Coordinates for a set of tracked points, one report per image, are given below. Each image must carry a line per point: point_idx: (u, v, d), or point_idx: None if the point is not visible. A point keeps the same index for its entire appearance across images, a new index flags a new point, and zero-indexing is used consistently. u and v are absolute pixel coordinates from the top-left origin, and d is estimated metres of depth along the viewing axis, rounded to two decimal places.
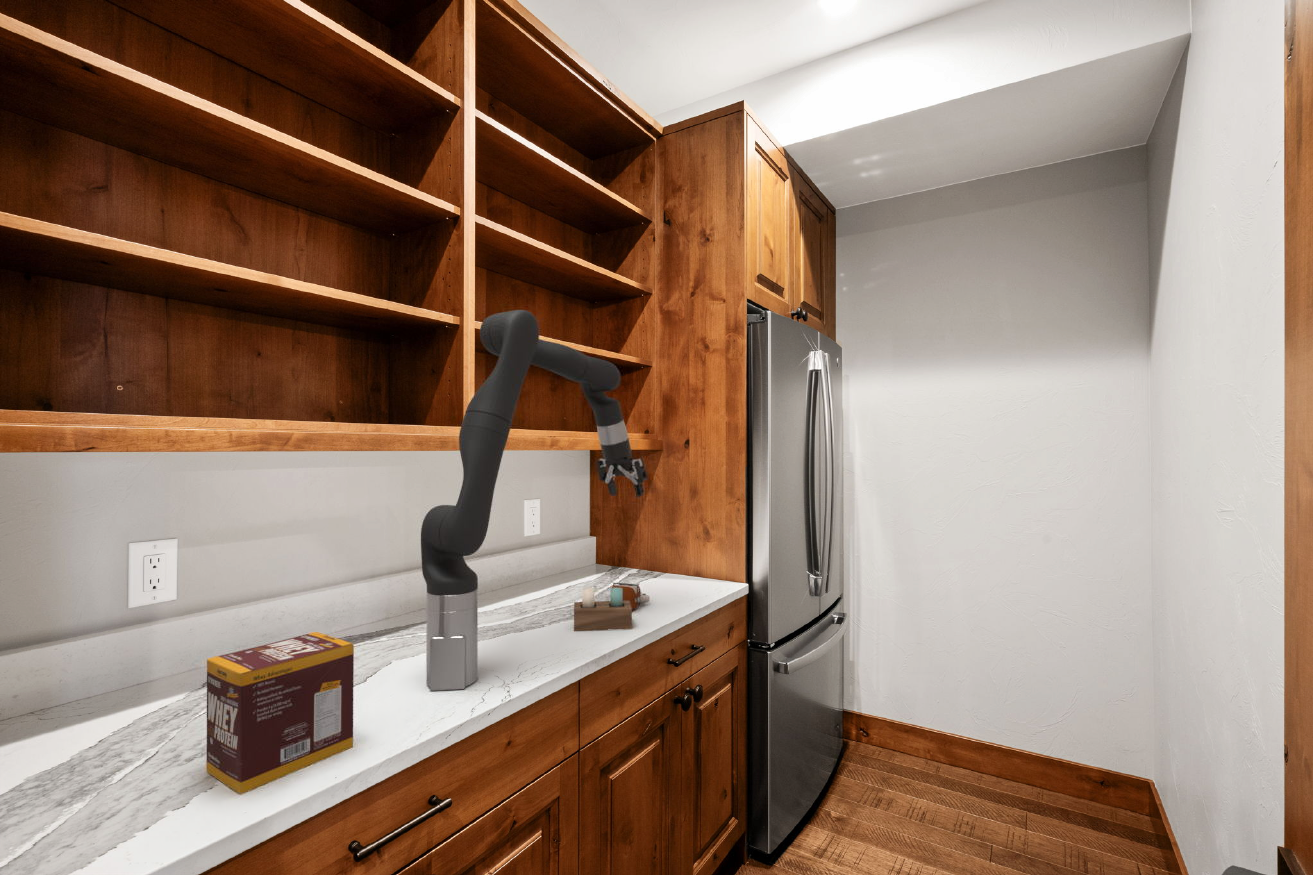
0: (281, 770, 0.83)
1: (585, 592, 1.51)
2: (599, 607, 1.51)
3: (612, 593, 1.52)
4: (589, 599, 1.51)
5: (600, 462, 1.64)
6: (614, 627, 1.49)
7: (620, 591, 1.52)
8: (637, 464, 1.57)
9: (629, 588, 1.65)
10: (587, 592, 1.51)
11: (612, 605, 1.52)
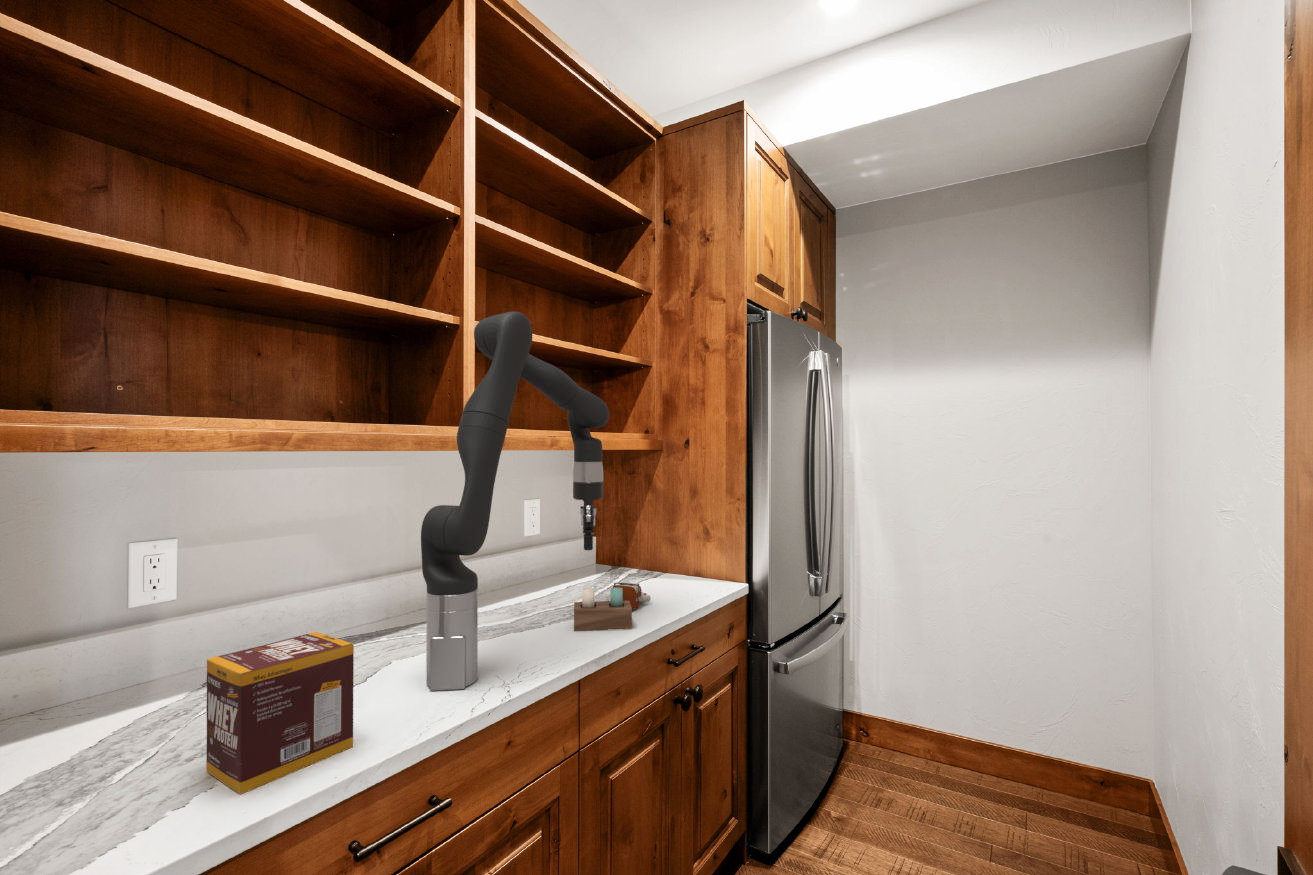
0: (281, 770, 0.83)
1: (585, 592, 1.51)
2: (599, 607, 1.51)
3: (612, 593, 1.52)
4: (589, 599, 1.51)
5: None
6: (614, 627, 1.49)
7: (620, 591, 1.52)
8: (583, 518, 1.47)
9: (630, 588, 1.65)
10: (587, 592, 1.51)
11: (612, 605, 1.52)
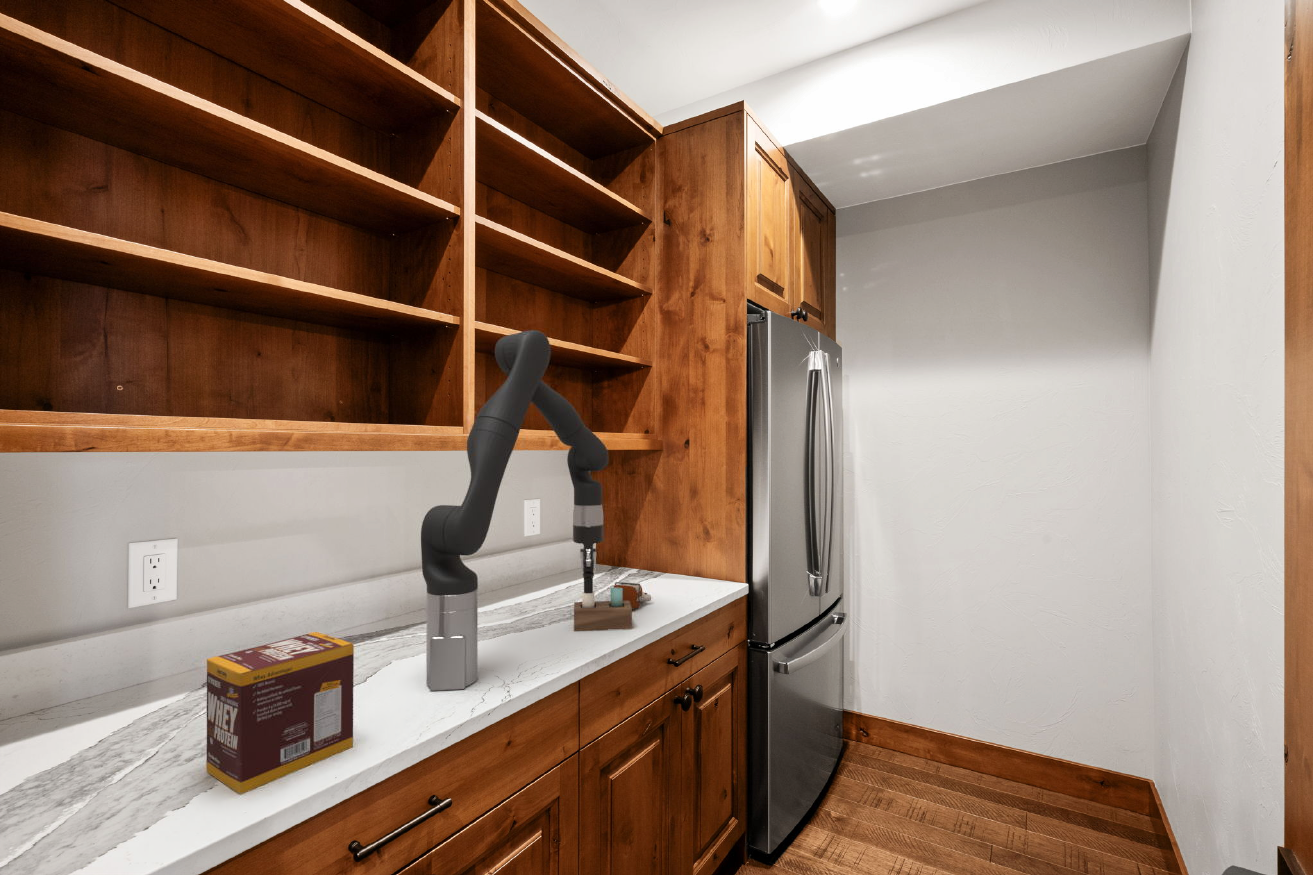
0: (281, 770, 0.83)
1: (585, 595, 1.51)
2: (599, 607, 1.51)
3: (612, 593, 1.52)
4: (589, 602, 1.51)
5: None
6: (614, 627, 1.49)
7: (620, 591, 1.52)
8: (583, 563, 1.47)
9: (631, 587, 1.66)
10: (587, 595, 1.51)
11: (612, 605, 1.52)
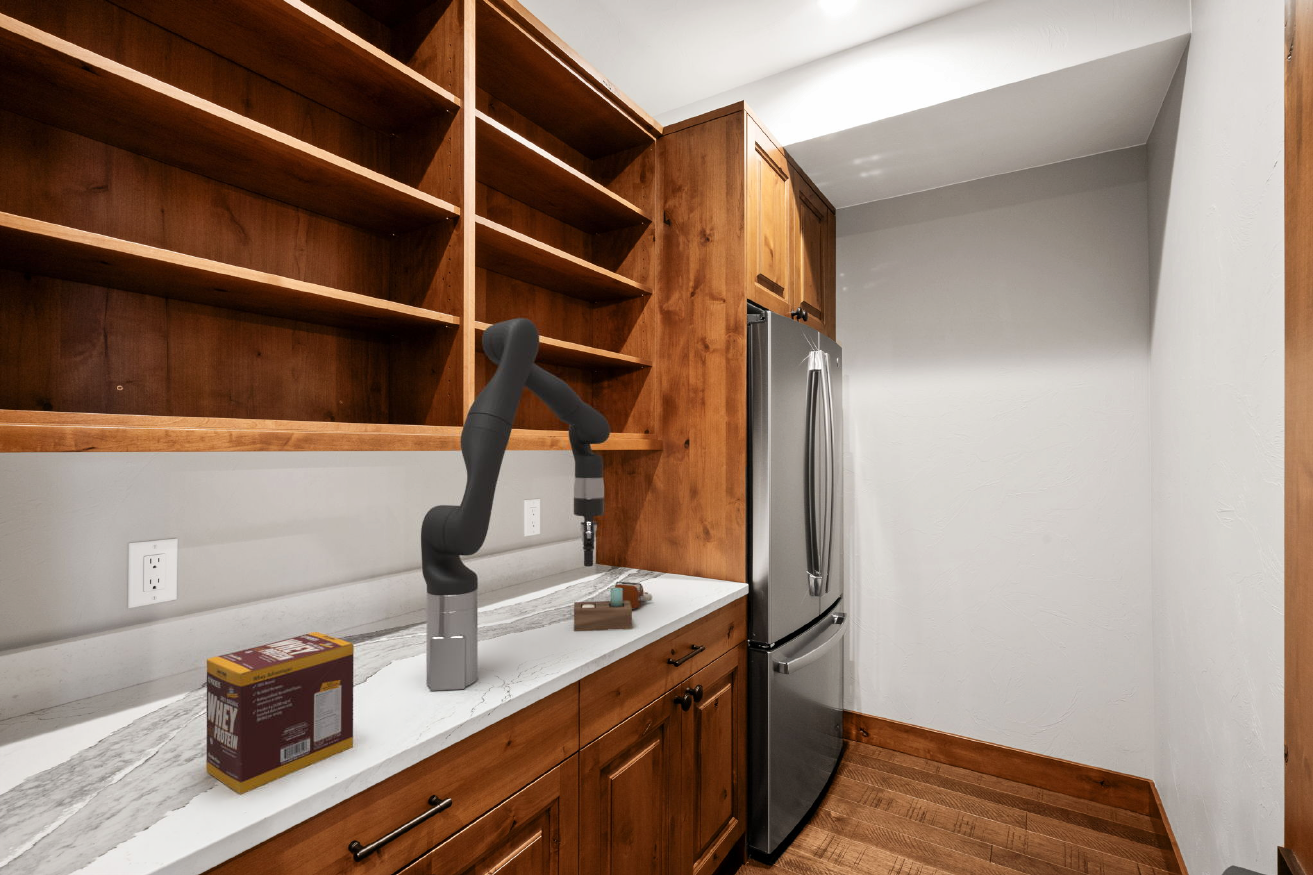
0: (281, 770, 0.83)
1: None
2: (599, 607, 1.51)
3: (612, 593, 1.52)
4: None
5: None
6: (614, 627, 1.49)
7: (620, 591, 1.52)
8: (583, 535, 1.47)
9: (632, 587, 1.66)
10: None
11: (612, 605, 1.52)
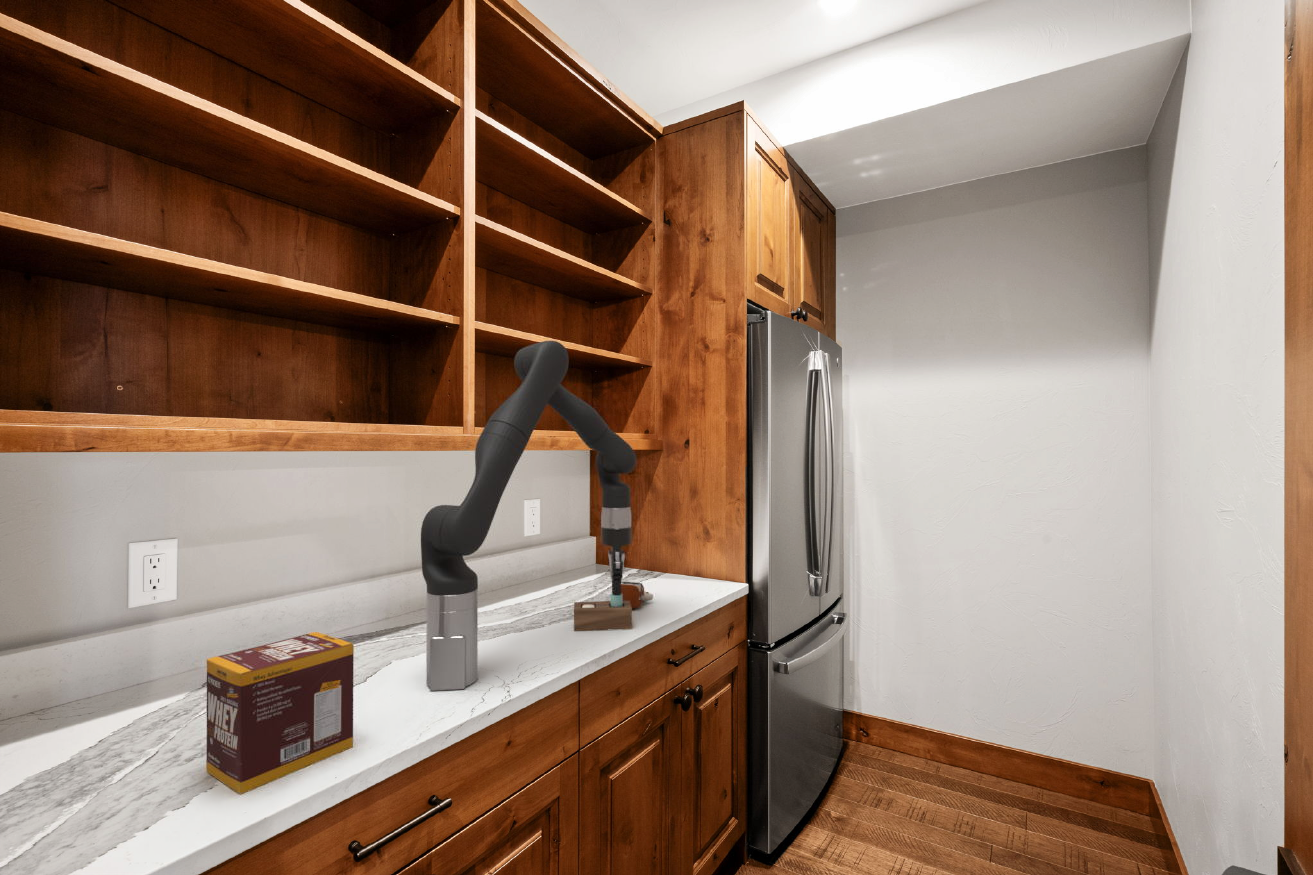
0: (281, 770, 0.83)
1: None
2: (599, 607, 1.51)
3: (612, 599, 1.52)
4: None
5: None
6: (614, 627, 1.49)
7: (620, 597, 1.52)
8: (612, 565, 1.48)
9: (633, 586, 1.67)
10: None
11: None
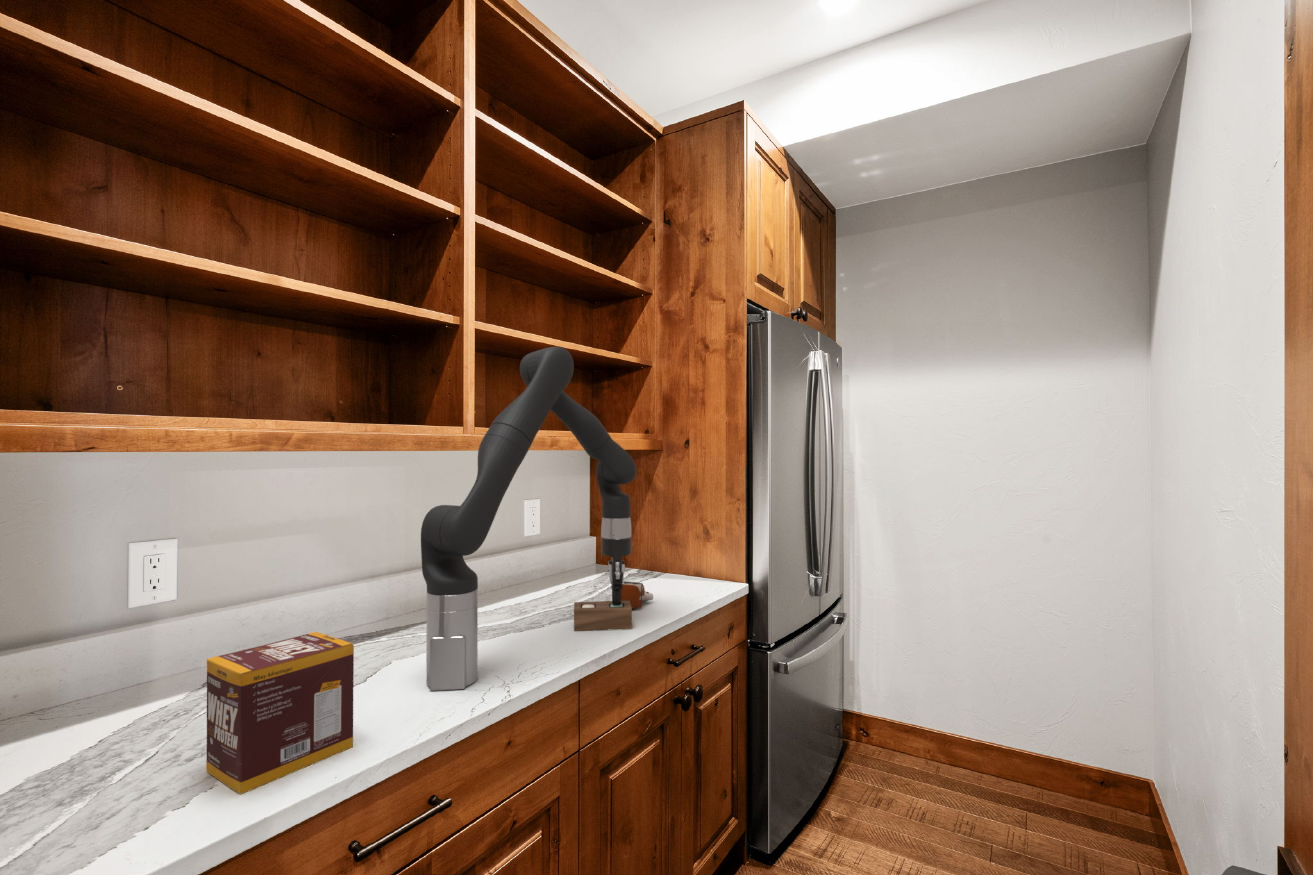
0: (281, 770, 0.83)
1: None
2: (599, 607, 1.51)
3: None
4: None
5: None
6: (614, 627, 1.49)
7: None
8: (612, 576, 1.48)
9: (634, 586, 1.67)
10: None
11: None
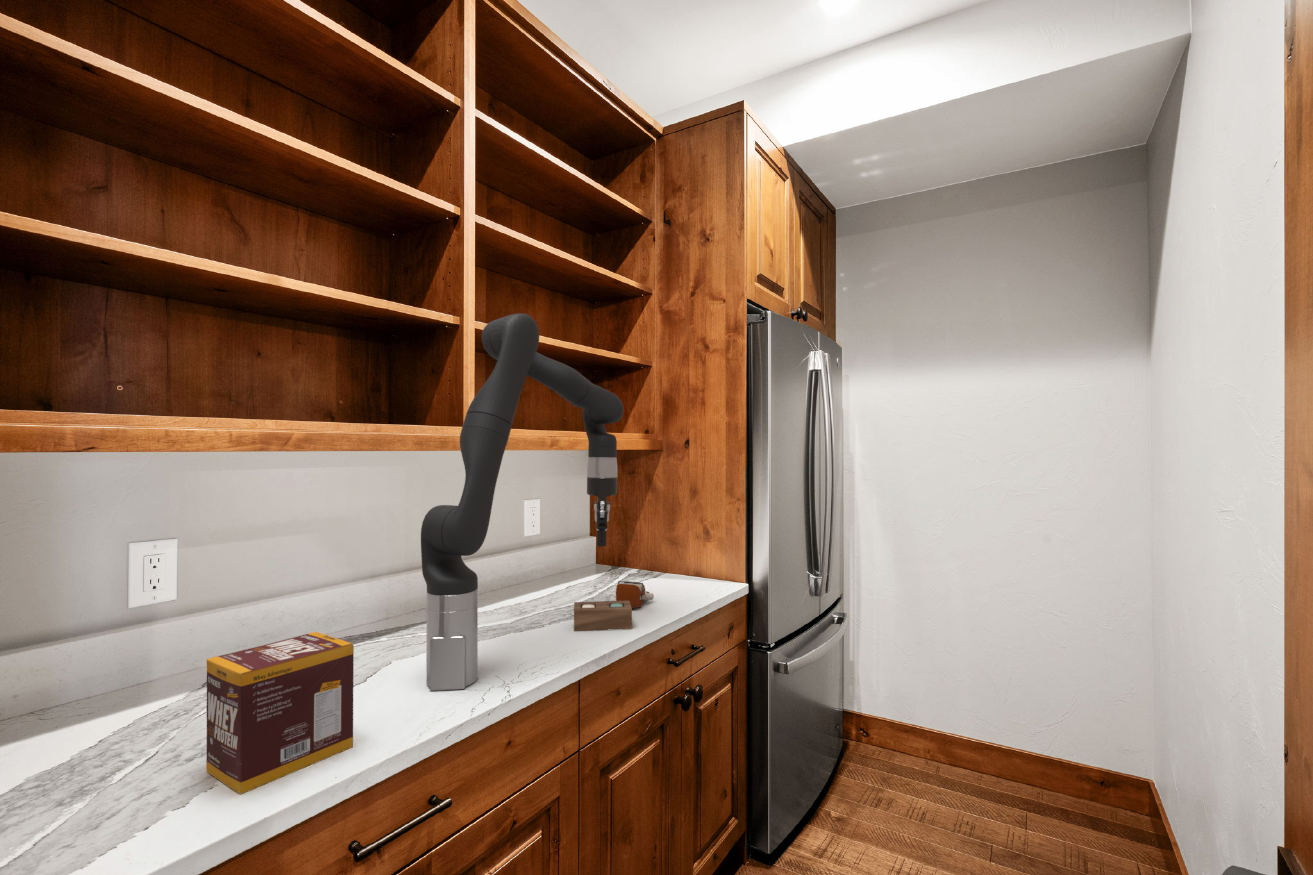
0: (281, 770, 0.83)
1: None
2: (599, 607, 1.51)
3: None
4: None
5: None
6: (614, 627, 1.49)
7: None
8: (597, 514, 1.46)
9: (634, 586, 1.67)
10: None
11: None
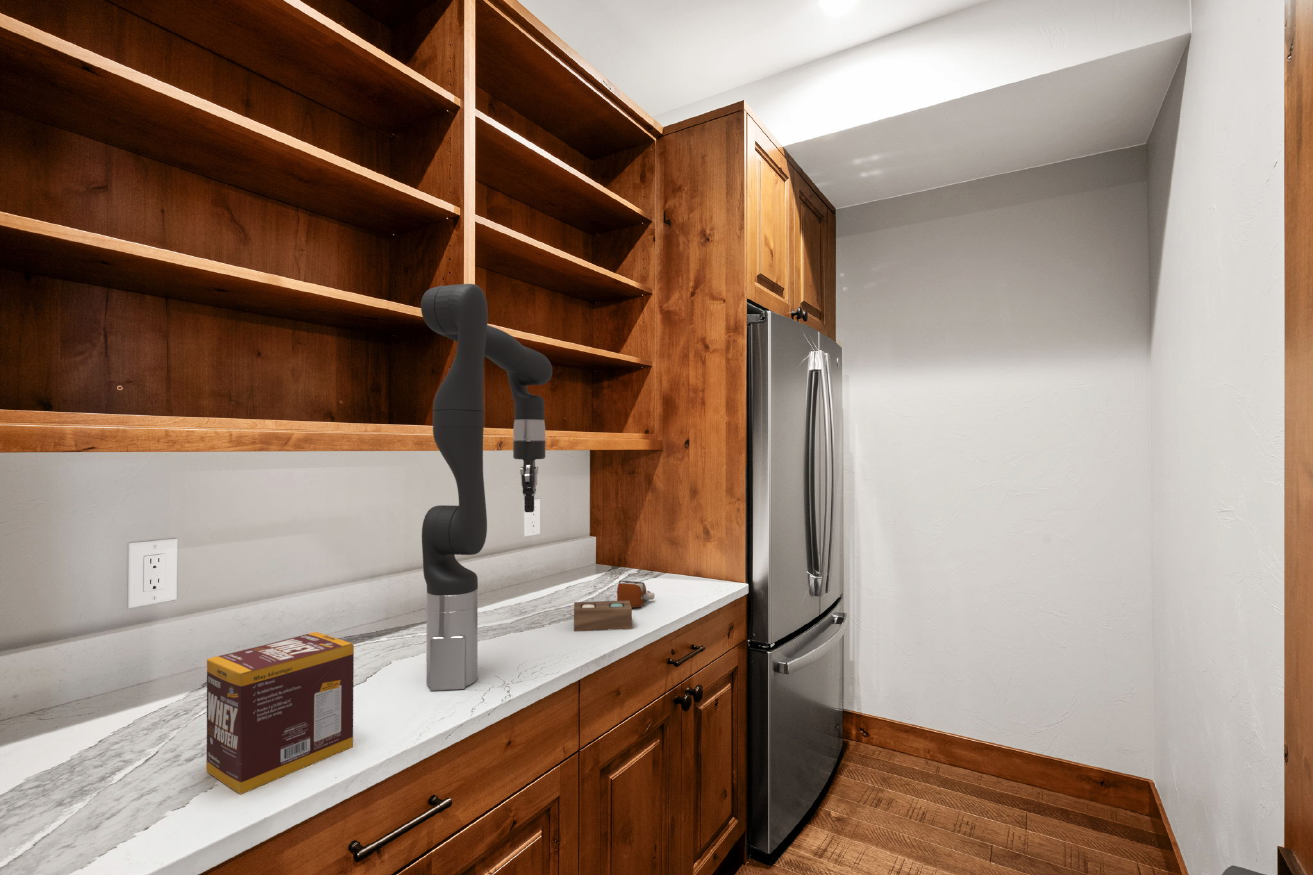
0: (281, 770, 0.83)
1: None
2: (599, 607, 1.51)
3: None
4: None
5: None
6: (614, 627, 1.49)
7: None
8: (521, 478, 1.41)
9: (635, 586, 1.68)
10: None
11: None
